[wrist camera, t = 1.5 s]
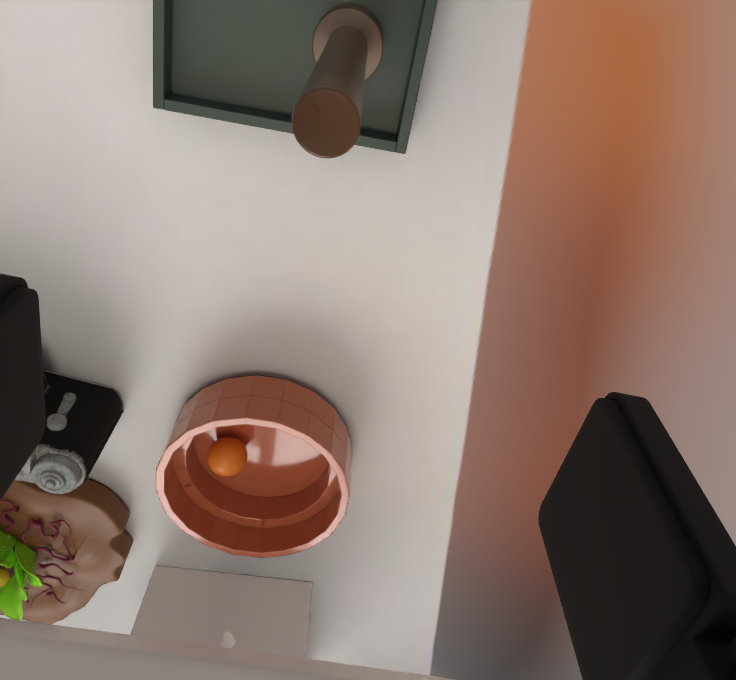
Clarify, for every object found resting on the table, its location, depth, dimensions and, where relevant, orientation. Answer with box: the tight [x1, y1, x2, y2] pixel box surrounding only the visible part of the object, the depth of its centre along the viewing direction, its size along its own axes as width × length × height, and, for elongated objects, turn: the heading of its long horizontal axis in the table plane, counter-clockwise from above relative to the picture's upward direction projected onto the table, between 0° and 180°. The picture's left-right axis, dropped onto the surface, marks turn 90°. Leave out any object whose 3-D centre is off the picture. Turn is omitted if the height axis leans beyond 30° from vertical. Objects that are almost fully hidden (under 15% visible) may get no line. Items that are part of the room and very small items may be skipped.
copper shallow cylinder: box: [156, 375, 352, 558], centre depth 48 cm, size 14×14×6 cm
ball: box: [207, 437, 247, 476], centre depth 48 cm, size 3×3×3 cm
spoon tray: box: [153, 0, 437, 154], centre depth 34 cm, size 14×10×2 cm
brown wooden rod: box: [292, 3, 383, 158], centre depth 26 cm, size 4×4×19 cm
